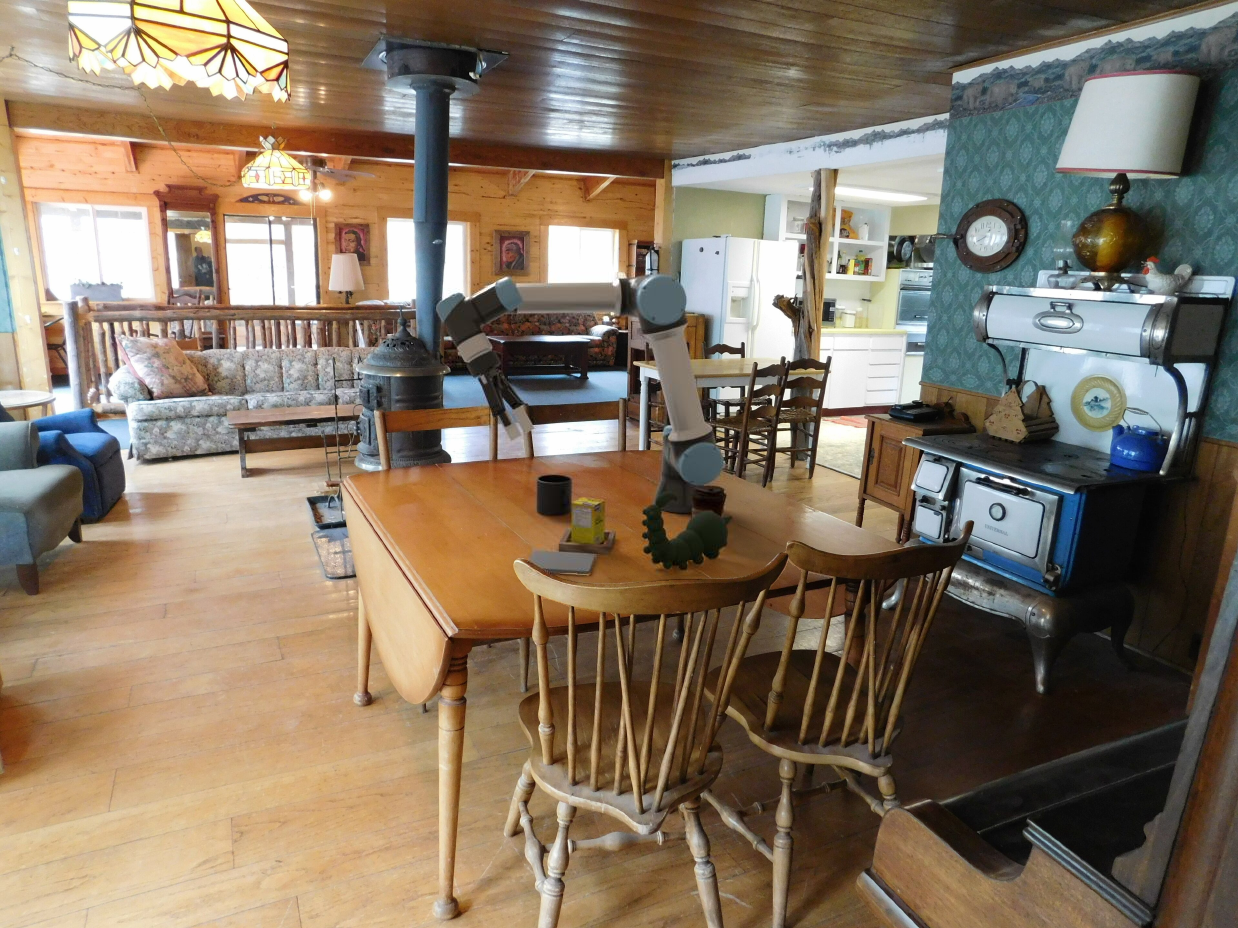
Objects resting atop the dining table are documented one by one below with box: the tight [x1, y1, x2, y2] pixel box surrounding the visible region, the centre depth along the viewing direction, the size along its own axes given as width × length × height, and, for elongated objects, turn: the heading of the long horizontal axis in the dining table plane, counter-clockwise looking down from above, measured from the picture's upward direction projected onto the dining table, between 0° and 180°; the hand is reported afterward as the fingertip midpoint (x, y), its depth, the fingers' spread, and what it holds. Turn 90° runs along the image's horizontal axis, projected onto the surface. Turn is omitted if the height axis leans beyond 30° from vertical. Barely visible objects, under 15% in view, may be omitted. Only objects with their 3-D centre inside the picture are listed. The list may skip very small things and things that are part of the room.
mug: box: [536, 474, 573, 517], centre depth 212 cm, size 9×12×9 cm
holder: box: [558, 527, 616, 556], centre depth 187 cm, size 12×12×2 cm
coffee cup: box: [691, 484, 727, 518], centre depth 193 cm, size 9×8×13 cm
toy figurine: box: [641, 492, 733, 571], centre depth 176 cm, size 9×19×25 cm
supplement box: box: [570, 496, 606, 545], centre depth 186 cm, size 6×6×11 cm
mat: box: [528, 549, 597, 575], centre depth 174 cm, size 14×11×1 cm
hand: (523, 434), depth 190 cm, fingers open, 13 cm apart
